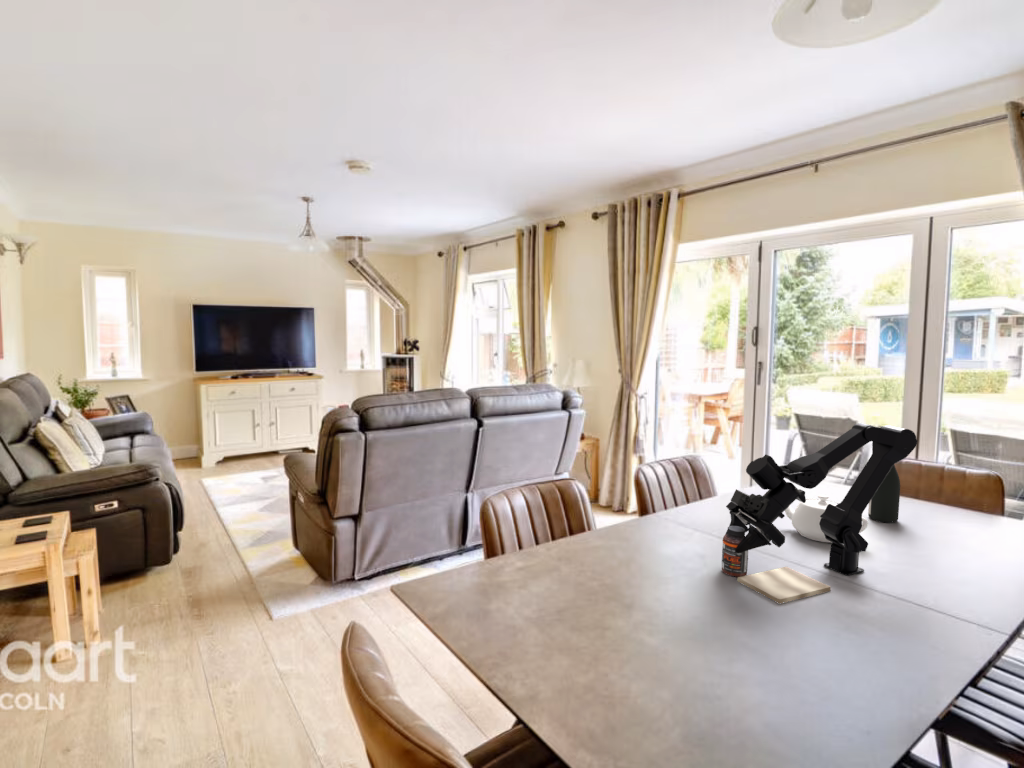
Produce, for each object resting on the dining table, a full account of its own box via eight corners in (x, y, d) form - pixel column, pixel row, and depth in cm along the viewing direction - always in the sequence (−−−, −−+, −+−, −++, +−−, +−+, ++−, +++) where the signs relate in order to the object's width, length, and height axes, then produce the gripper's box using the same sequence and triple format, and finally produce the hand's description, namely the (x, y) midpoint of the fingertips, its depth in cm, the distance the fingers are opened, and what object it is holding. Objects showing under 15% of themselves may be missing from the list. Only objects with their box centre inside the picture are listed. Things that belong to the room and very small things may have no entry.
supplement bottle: (719, 574, 135) (721, 529, 134) (722, 565, 140) (724, 522, 139) (746, 579, 132) (748, 534, 131) (748, 570, 138) (750, 526, 137)
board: (786, 570, 138) (786, 566, 138) (830, 590, 127) (830, 586, 127) (737, 581, 132) (737, 577, 131) (779, 603, 121) (779, 599, 120)
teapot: (875, 542, 157) (878, 499, 156) (855, 555, 147) (858, 510, 146) (785, 519, 176) (788, 481, 175) (763, 529, 166) (765, 489, 165)
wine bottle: (862, 517, 178) (867, 425, 175) (877, 514, 181) (883, 423, 179) (888, 525, 171) (894, 429, 168) (903, 521, 174) (910, 427, 172)
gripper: (734, 470, 144) (692, 512, 144) (775, 490, 125) (726, 539, 125) (762, 499, 145) (720, 541, 145) (806, 523, 127) (758, 571, 127)
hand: (729, 546), depth 136 cm, fingers closed on supplement bottle, 6 cm apart
